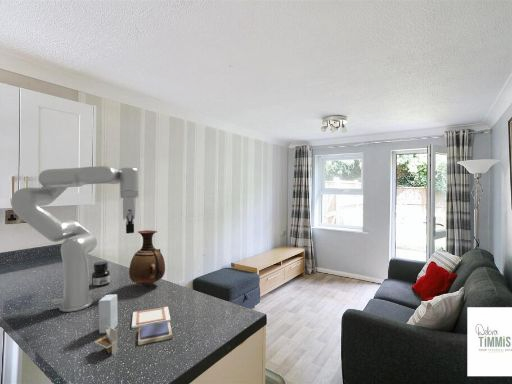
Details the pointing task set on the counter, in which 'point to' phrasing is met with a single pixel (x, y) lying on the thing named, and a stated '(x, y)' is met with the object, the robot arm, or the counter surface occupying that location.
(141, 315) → the marked board
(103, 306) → the skincare box
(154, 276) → the vase
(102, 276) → the ink bottle
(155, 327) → the ink pad
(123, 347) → the counter surface
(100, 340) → the architectural model
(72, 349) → the counter surface
